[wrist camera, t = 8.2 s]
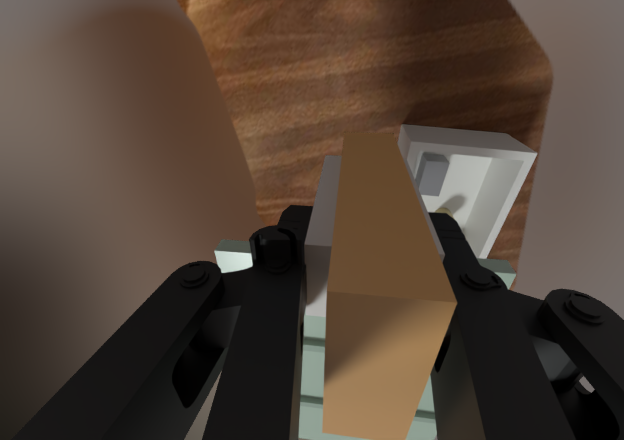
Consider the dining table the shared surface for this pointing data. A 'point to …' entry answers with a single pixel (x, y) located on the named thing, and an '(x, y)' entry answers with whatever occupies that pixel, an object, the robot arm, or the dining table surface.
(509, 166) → the tub
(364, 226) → the lid
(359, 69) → the dining table surface
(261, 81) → the dining table surface
